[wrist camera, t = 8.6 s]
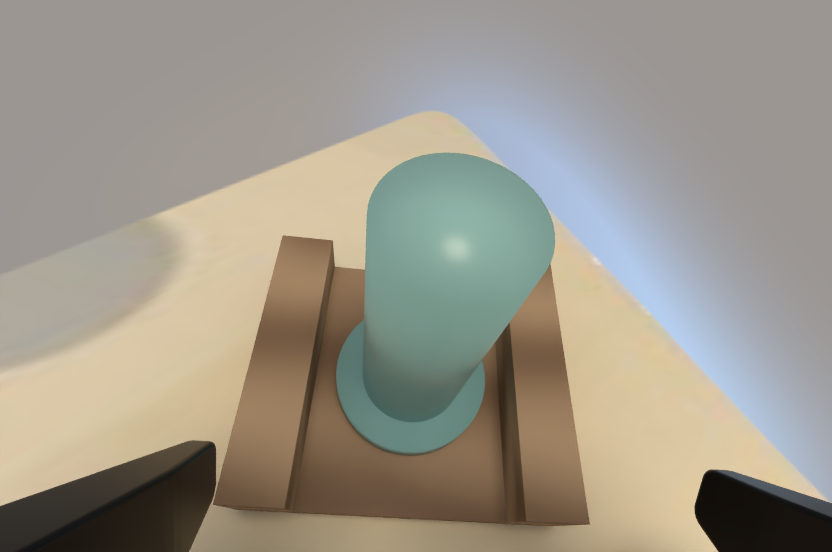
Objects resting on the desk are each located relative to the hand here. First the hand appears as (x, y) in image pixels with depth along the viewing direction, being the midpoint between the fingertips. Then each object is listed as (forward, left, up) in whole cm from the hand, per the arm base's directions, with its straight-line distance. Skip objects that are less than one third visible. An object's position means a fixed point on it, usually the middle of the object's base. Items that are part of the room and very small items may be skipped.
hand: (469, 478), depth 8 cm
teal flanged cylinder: (+2, -5, -12) cm, 13 cm away
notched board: (+2, -5, -13) cm, 14 cm away
